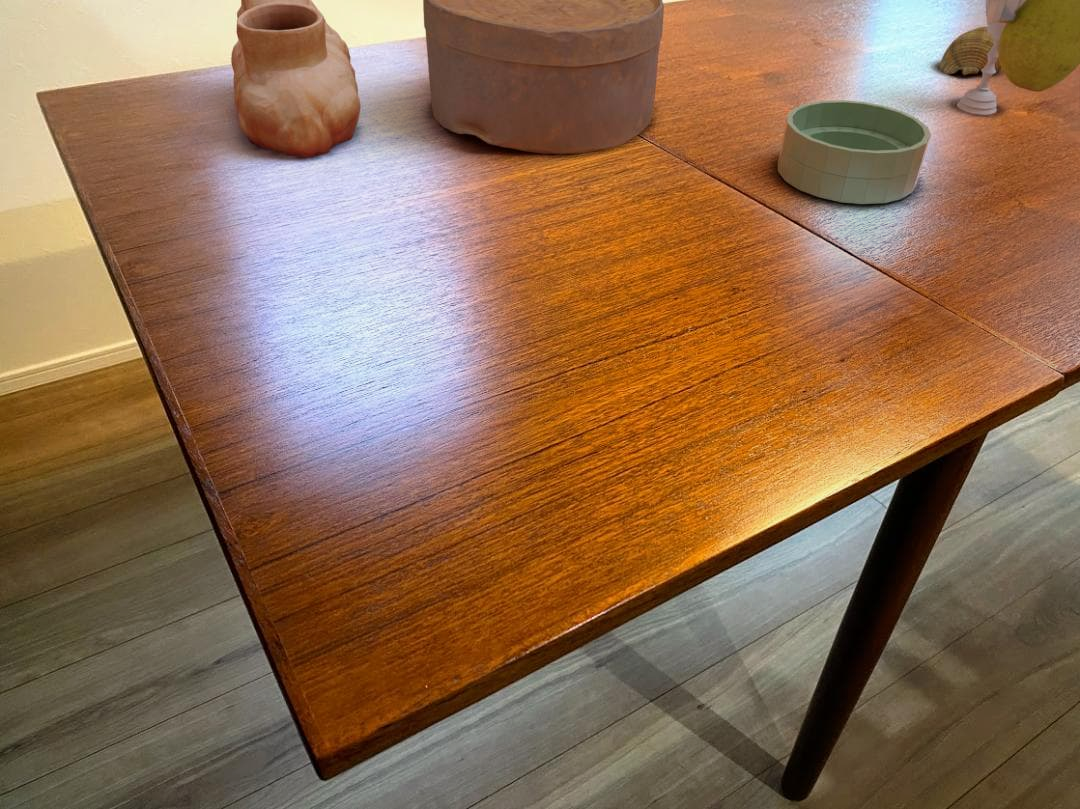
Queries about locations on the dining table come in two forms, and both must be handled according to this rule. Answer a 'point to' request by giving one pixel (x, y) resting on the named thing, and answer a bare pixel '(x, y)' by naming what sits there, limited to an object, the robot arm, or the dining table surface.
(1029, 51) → the fruit
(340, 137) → the ceramic vessel
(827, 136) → the bowl
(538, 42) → the container
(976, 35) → the seashell
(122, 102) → the dining table surface
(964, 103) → the chalice
